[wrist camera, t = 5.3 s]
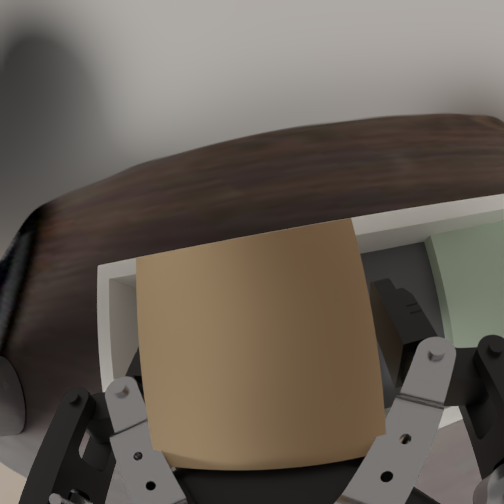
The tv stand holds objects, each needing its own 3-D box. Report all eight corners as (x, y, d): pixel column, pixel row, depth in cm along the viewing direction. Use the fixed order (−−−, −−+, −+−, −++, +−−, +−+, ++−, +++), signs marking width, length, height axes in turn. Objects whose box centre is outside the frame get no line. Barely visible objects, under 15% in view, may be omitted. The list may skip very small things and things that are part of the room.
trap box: (144, 438, 17) (112, 451, 13) (130, 279, 21) (97, 265, 17) (535, 359, 13) (567, 357, 9) (505, 212, 16) (530, 190, 13)
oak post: (250, 395, 15) (156, 464, 5) (240, 311, 17) (135, 258, 7) (338, 383, 15) (386, 450, 4) (325, 297, 16) (351, 217, 6)
